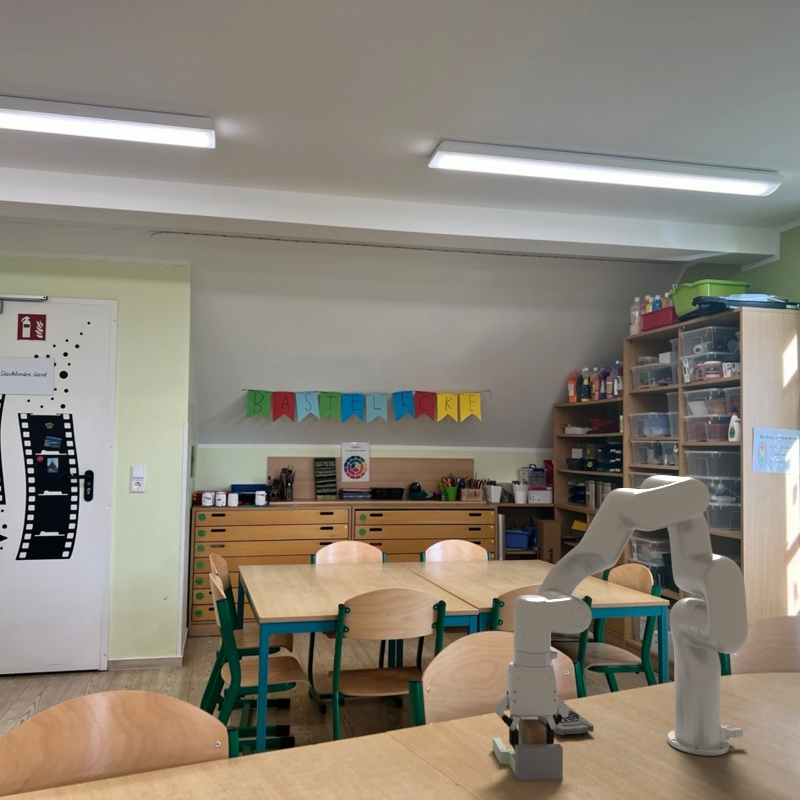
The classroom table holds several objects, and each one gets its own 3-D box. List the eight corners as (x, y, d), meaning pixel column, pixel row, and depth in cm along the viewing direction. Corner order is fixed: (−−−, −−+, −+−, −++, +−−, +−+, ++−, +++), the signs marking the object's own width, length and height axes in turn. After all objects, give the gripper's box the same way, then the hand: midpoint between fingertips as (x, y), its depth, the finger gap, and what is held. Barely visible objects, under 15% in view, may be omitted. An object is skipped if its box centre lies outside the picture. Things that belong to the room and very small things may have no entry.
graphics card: (518, 701, 181) (563, 697, 184) (518, 717, 180) (564, 712, 183) (549, 728, 164) (598, 722, 167) (549, 745, 164) (598, 739, 167)
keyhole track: (547, 748, 160) (547, 719, 160) (570, 779, 145) (570, 747, 145) (492, 749, 159) (492, 720, 159) (510, 780, 144) (510, 749, 144)
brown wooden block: (534, 758, 155) (534, 714, 155) (546, 775, 147) (546, 728, 147) (518, 758, 154) (518, 714, 155) (528, 775, 146) (529, 728, 147)
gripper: (567, 652, 157) (566, 739, 155) (486, 653, 155) (485, 741, 154) (579, 662, 149) (578, 754, 148) (494, 663, 148) (493, 756, 146)
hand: (531, 747), depth 151 cm, fingers open, 6 cm apart
